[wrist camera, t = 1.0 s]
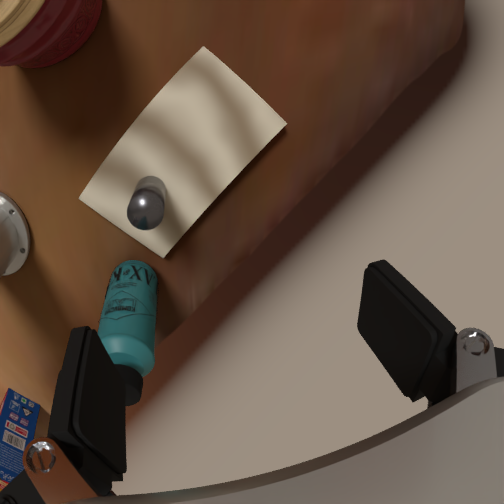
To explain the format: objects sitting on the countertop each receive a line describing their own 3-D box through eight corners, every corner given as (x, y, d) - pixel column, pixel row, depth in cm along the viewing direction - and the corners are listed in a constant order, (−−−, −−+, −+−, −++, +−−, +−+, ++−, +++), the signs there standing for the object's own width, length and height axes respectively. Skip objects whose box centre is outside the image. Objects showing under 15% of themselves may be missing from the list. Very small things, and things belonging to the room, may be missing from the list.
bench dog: (153, 211, 36) (149, 237, 30) (129, 193, 34) (119, 216, 28) (172, 187, 35) (171, 209, 29) (148, 169, 33) (141, 187, 27)
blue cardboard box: (8, 387, 46) (-18, 503, 22) (40, 405, 50) (23, 521, 26) (-9, 427, 52) (-24, 513, 28) (16, 440, 56) (5, 526, 32)
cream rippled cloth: (163, 252, 40) (163, 258, 39) (81, 194, 34) (78, 198, 33) (283, 122, 35) (287, 123, 34) (202, 48, 29) (203, 46, 28)
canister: (94, -46, 20) (48, -115, 5) (116, 37, 26) (65, -3, 11) (1, 6, 19) (-83, -18, 4) (20, 88, 26) (-74, 101, 11)
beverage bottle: (167, 282, 42) (171, 405, 25) (127, 299, 42) (113, 421, 25) (144, 244, 39) (130, 364, 22) (102, 264, 39) (69, 383, 22)
